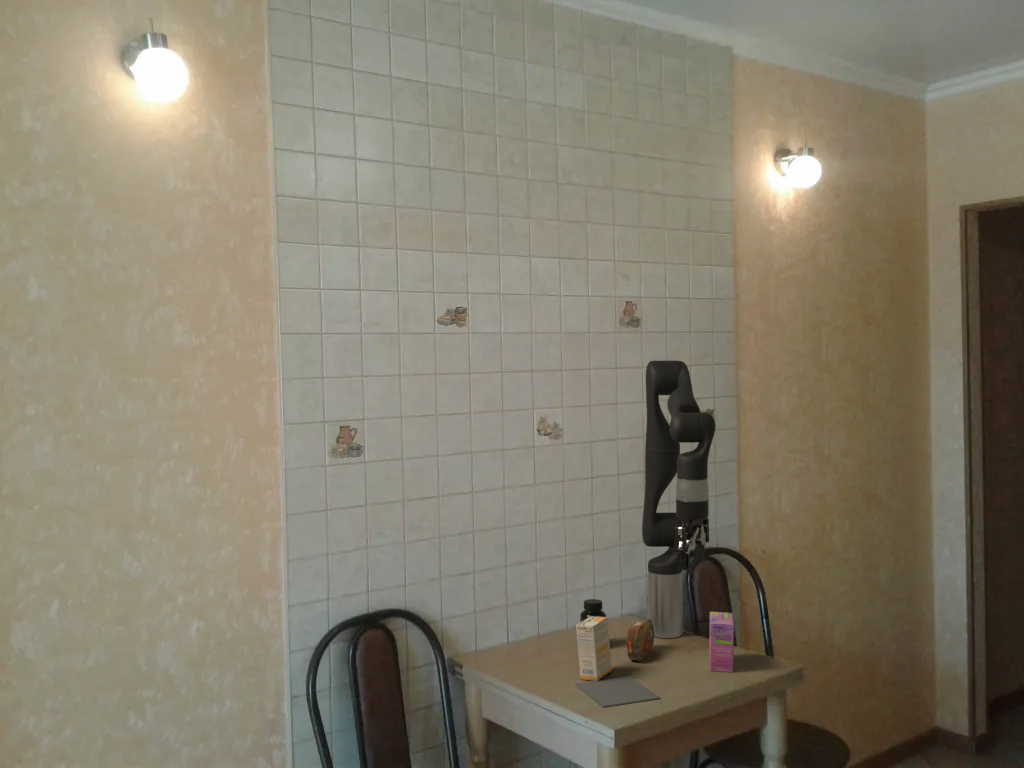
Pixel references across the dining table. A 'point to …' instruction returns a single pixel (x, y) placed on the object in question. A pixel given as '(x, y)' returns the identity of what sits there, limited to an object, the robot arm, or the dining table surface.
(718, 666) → the box
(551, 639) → the dining table surface
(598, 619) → the supplement box
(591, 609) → the supplement bottle
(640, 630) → the tin
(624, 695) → the mat
